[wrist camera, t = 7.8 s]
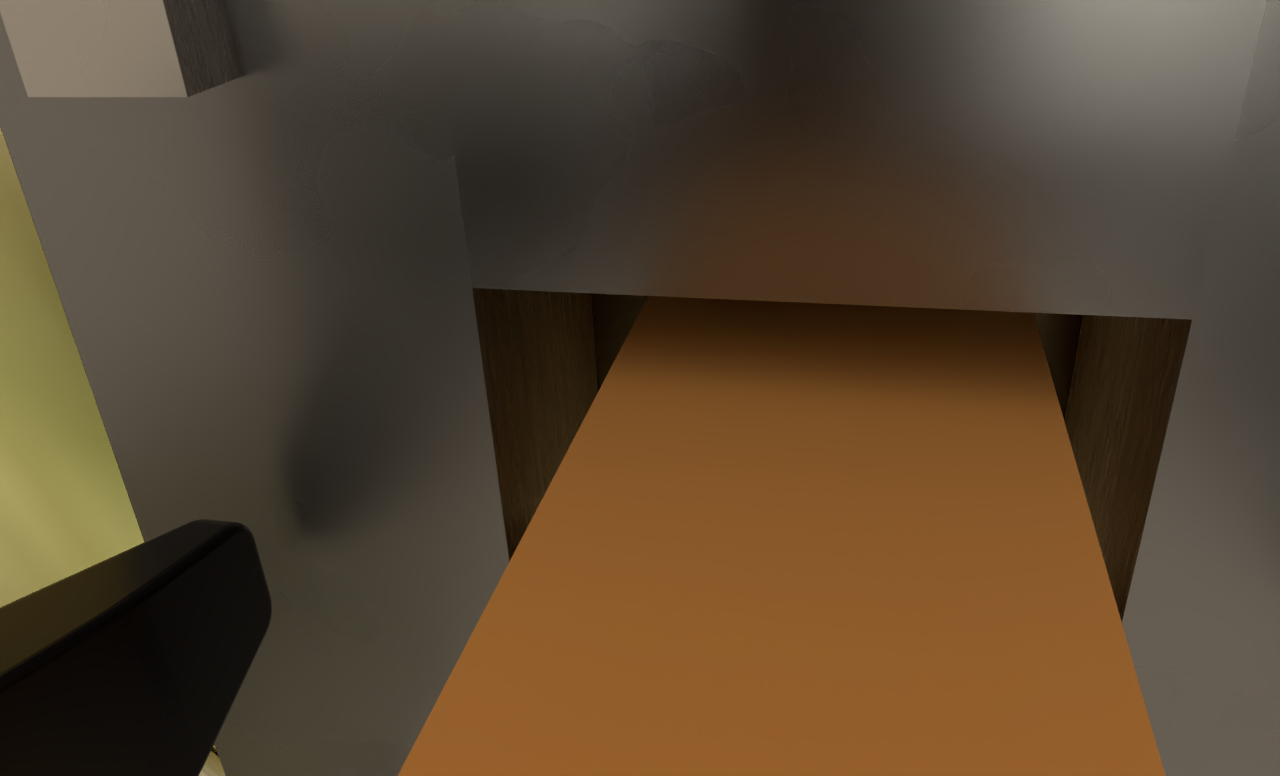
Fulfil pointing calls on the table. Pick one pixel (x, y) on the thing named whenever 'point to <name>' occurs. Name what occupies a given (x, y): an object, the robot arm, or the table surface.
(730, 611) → the tall orange box
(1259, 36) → the rosette plate
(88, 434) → the table surface
